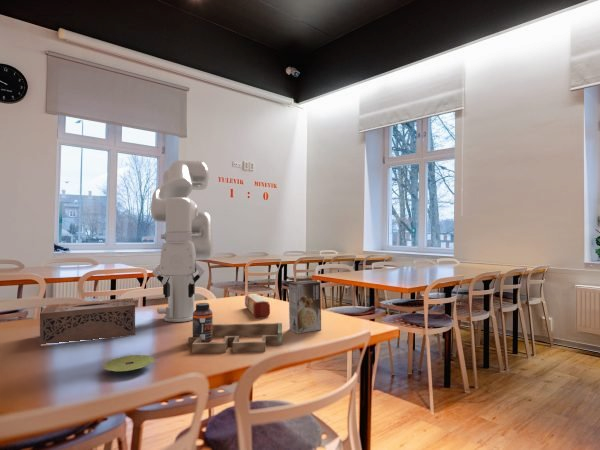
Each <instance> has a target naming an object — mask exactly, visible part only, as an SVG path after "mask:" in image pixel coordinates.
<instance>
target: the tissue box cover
mask: <svg viewBox="0 0 600 450" xmlns="http://www.w3.org/2000/svg"><path fill="white" fill-rule="evenodd" d="M135 303H136V302H135V301H134V298H133V297H127V298H126V297H124V298H115V299H113V298H112V299H101V300H93V301H92V300H89V301H80V302H77V301H76V302H66V303H65V302H64V303H53V304H47V305H46V306H45V307H44V308H43V309H42V310H41V311H40V313H39V345H40V344H46V343H59V342H69V341H80V340H91V341H94V340H93V339H99V338H107V339H113V338H112V337H115V338H121V337H120V336H123V337H128V336H130V335H131V336H136V304H135ZM99 340H100V339H99Z"/></svg>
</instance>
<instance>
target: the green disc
mask: <svg viewBox="0 0 600 450" xmlns="http://www.w3.org/2000/svg"><path fill="white" fill-rule="evenodd" d="M154 361H155V358H154V356H151V355H146V354H145V355H144V354H134V355H133V354H131V355H124V356H121V357H116V358H113V359H111V360H108V361H107V362H105V363H104V364H103V367H102V368H103V369H104V370H105V371H110V372H111V371H113V372H115V373H116V372H128V371H134V370H138V369H141V368H145V367H147V366H149V365H151V364H152V363H153V362H154Z"/></svg>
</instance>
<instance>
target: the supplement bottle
mask: <svg viewBox="0 0 600 450" xmlns="http://www.w3.org/2000/svg"><path fill="white" fill-rule="evenodd" d="M212 327H213V311H212V310H211V308H210V303H209V302H198V303H196V304H195V309H194V312H193V320H192V337H201V343H211V342H212V340H213V337H214V336H212V335H213V334H212V330H213V329H212Z"/></svg>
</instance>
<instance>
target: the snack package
mask: <svg viewBox="0 0 600 450" xmlns="http://www.w3.org/2000/svg"><path fill="white" fill-rule="evenodd" d="M244 306H245V307H246V308H247V310H249V312H250V313H252V315H253V316H254V317H255V318H257V319H265V318H268V317H269V316H270V314H271V306H270V303H269V301H268V300H266V299H264V298H262V296H260V295H258V294H257V293H251V294H250V293H249V294H247V295H245V298H244Z"/></svg>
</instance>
